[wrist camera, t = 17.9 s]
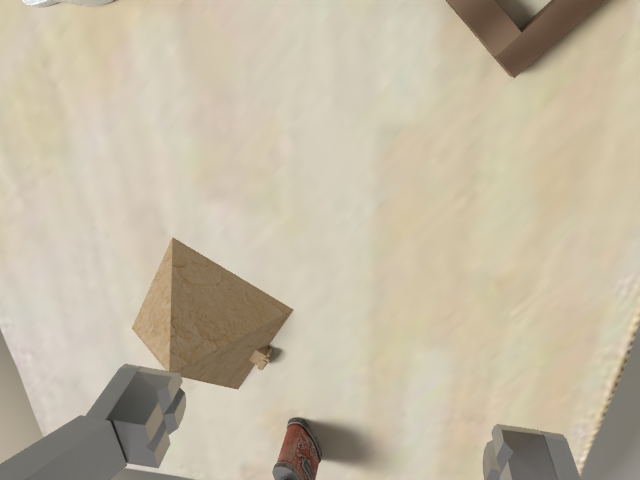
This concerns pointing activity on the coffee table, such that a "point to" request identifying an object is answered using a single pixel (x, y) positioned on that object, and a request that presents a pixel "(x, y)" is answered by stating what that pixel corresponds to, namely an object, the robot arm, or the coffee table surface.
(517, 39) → the socket block
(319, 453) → the lighter
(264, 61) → the coffee table surface
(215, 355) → the model pyramid
